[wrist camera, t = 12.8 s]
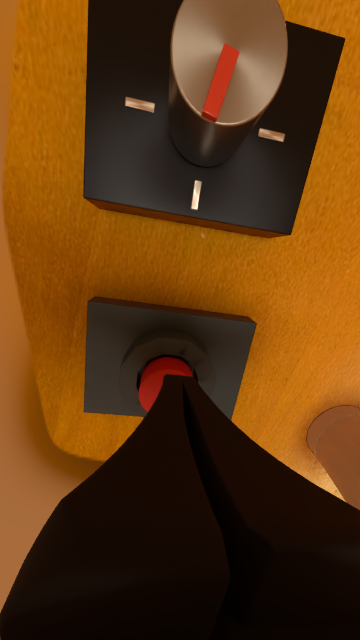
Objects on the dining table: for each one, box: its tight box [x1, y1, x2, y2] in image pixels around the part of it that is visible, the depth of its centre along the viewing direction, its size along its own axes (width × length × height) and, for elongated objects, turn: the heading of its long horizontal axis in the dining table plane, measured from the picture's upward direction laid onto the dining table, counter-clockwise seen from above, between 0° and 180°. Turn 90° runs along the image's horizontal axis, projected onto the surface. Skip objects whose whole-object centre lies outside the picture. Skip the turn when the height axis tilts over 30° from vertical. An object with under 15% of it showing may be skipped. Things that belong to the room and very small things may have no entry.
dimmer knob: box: [168, 0, 288, 167], centre depth 9 cm, size 4×4×4 cm
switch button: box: [139, 357, 193, 412], centre depth 14 cm, size 4×4×2 cm
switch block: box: [84, 297, 257, 420], centre depth 17 cm, size 12×9×4 cm
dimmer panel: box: [83, 0, 345, 238], centre depth 13 cm, size 12×9×3 cm
